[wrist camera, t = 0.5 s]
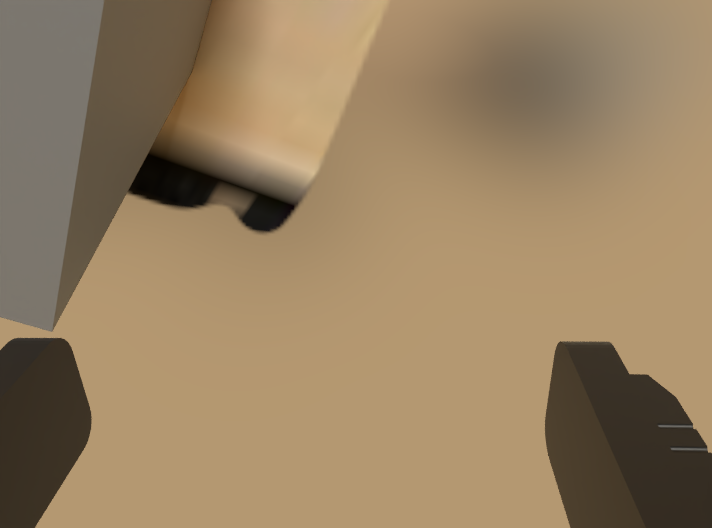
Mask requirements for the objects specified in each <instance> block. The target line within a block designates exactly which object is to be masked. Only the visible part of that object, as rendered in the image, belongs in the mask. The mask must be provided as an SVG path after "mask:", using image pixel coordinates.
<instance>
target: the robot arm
mask: <svg viewBox="0 0 712 528" xmlns="http://www.w3.org/2000/svg"><path fill="white" fill-rule="evenodd" d="M90 430H91V411H90V407H89V403H88V400H87V397H86V394H85V390H84V387H83V384H82V380H81V377H80V374H79V371H78V367H77V364H76V361H75V358H74V354H73V351H72V349H71V346H70V345H69V343H68V342H67V341H66V340H65V339H62V338H16V339H13V340H11V341H9V342H8V343H7V344H6V345H5V346H4V347H3V348H2V349H1V350H0V528H35V526H36V525H37V523H38V521H39V520H40V518H41V517H42V515H43V513H44V512H45V510H46V509H47V507H48V505H49V504H50V502H51V501H52V499H53V498H54V496H55V494H56V493H57V491H58V490H59V488H60V486H61V485H62V483H63V481H64V480H65V478H66V476H67V475H68V474H69V472H70V470H71V469H72V467H73V466H74V464H75V462H76V461H77V459H78V457H79V456H80V454H81V453H82V451H83V450H84V448H85V446H86V444H87V441H88V438H89V434H90ZM545 436H546V445H547V451H548V456H549V459H550V463H551V466H552V469H553V472H554V475H555V478H556V482H557V485H558V489H559V492H560V495H561V498H562V502H563V505H564V508H565V511H566V514H567V518H568V521H569V524H570V527H571V528H712V453H708V451H707V445H706V444H705V442H704V441H703V439H702V438H701V436H700V434H699V433H698V431H697V430H696V429H693V423H692V422H691V420H690V419H689V417H688V416H687V414H686V412H685V411H684V409H683V408H682V406H681V405H680V403H679V401H678V400H677V398H676V397H675V396H674V395H672V394H671V393H670V392H669V391H667V390H666V389H665V388H664V387H662V386H661V385H660V384H658V383H657V382H656V381H655V380H653V379H652V378H651V377H650V376H649V375H634V374H629V373H628V371H627V369H626V367H625V366H624V364H623V362H622V360H621V358H620V357H619V355H618V353H617V351H616V350H615V348H614V346H613V345H612V344H611V343H610V342H559V343H558V345H557V347H556V350H555V355H554V362H553V369H552V377H551V383H550V390H549V397H548V403H547V410H546V419H545Z"/></svg>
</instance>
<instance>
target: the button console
mask: <svg viewBox="0 0 712 528" xmlns="http://www.w3.org/2000/svg"><path fill="white" fill-rule="evenodd" d="M211 1H212V0H0V317H2V318H6V319H9V320H13V321H16V322H20V323H23V324H27V325H30V326H34V327H38V328H41V329H44V330H48V331H53V329H54V327H55V325H56V323H57V322H58V320H59V318H60V316H61V314H62V312H63V311H64V309H65V307H66V305H67V303H68V301H69V299H70V298H71V296H72V294H73V292H74V290H75V288H76V286H77V285H78V283H79V281H80V279H81V277H82V275H83V273H84V271H85V270H86V268H87V266H88V264H89V262H90V260H91V258H92V257H93V255H94V253H95V251H96V249H97V247H98V245H99V244H100V242H101V239H102V238H103V236H104V234H105V232H106V231H107V229H108V227H109V225H110V223H111V221H112V219H113V218H114V216H115V214H116V212H117V210H118V208H119V206H120V204H121V203H122V201H123V199H124V197H125V195H126V193H127V192H128V190H129V188H130V186H131V184H132V182H133V180H134V178H135V177H136V175H137V173H138V171H139V169H140V167H141V165H142V164H143V162H144V160H145V158H146V156H147V154H148V152H149V151H150V149H151V147H152V145H153V143H154V141H155V139H156V138H157V136H158V134H159V132H160V130H161V128H162V126H163V125H164V123H165V121H166V119H167V117H168V115H169V113H170V112H171V110H172V108H173V106H174V104H175V102H176V100H177V99H178V97H179V95H180V93H181V91H182V89H183V87H184V85H185V84H186V82H187V80H188V78H189V76H190V74H191V72H192V69H193V66H194V62H195V59H196V55H197V51H198V48H199V44H200V41H201V37H202V33H203V30H204V26H205V23H206V19H207V15H208V12H209V8H210V5H211Z"/></svg>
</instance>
